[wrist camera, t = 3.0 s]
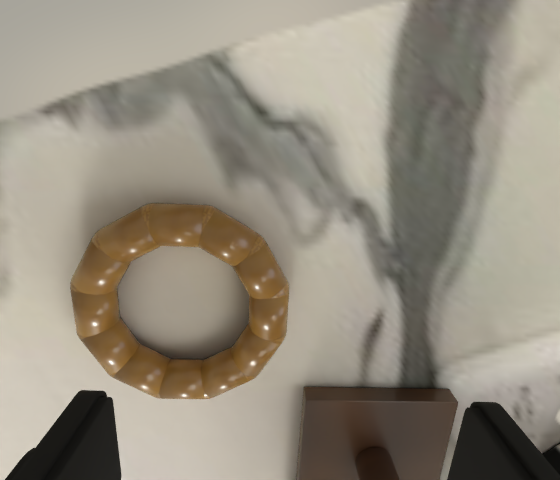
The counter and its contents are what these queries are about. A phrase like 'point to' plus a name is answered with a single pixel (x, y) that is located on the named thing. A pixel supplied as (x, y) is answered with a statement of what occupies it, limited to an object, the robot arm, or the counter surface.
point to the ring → (188, 233)
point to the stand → (374, 433)
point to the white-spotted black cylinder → (554, 458)
